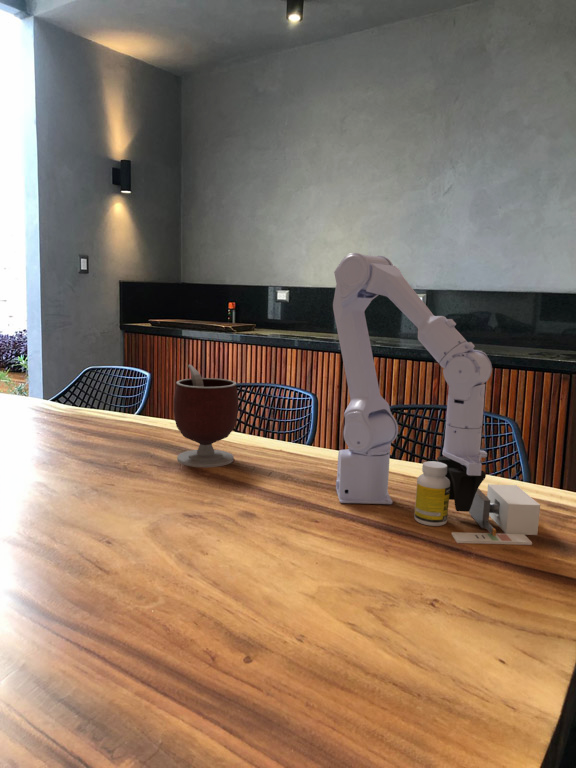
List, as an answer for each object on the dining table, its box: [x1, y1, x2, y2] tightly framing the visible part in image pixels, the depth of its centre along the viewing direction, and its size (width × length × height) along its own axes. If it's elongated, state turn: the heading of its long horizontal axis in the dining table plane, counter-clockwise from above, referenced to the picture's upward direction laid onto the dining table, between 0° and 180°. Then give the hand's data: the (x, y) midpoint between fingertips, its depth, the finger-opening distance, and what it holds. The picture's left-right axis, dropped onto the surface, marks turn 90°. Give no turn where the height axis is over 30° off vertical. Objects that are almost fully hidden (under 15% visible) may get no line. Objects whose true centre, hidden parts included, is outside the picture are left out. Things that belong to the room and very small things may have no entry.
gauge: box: [451, 484, 541, 546], centre depth 101 cm, size 14×14×5 cm
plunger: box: [468, 487, 500, 536], centre depth 101 cm, size 8×11×5 cm
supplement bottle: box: [413, 460, 450, 527], centre depth 103 cm, size 5×5×10 cm
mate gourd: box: [173, 364, 239, 468], centre depth 135 cm, size 16×14×20 cm
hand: (457, 504), depth 103 cm, fingers open, 5 cm apart
